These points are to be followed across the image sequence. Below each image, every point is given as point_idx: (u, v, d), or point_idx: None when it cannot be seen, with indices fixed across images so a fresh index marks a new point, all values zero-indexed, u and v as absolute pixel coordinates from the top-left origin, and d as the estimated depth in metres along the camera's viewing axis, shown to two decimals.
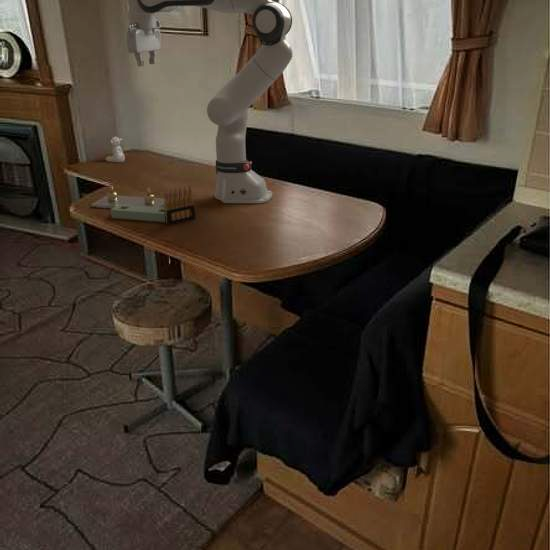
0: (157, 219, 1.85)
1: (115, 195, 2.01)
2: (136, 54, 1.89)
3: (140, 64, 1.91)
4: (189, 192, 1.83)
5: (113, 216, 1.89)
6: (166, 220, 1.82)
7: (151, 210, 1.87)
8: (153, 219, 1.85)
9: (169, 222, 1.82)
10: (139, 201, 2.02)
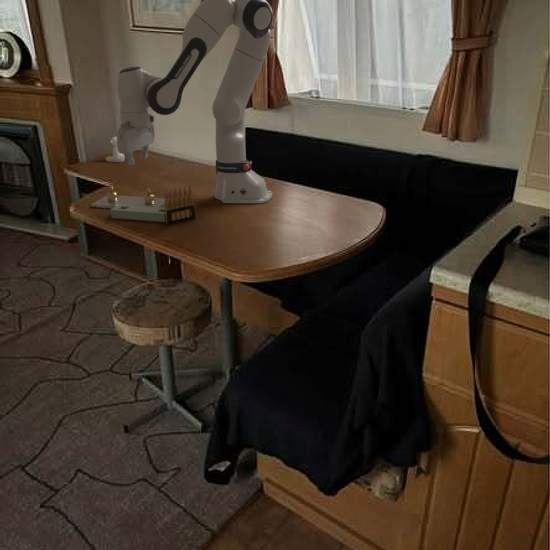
0: (157, 219, 1.85)
1: (115, 195, 2.01)
2: (127, 153, 1.76)
3: (131, 163, 1.78)
4: (189, 192, 1.83)
5: (113, 216, 1.89)
6: (166, 220, 1.82)
7: (151, 210, 1.87)
8: (153, 219, 1.85)
9: (169, 222, 1.82)
10: (139, 201, 2.02)
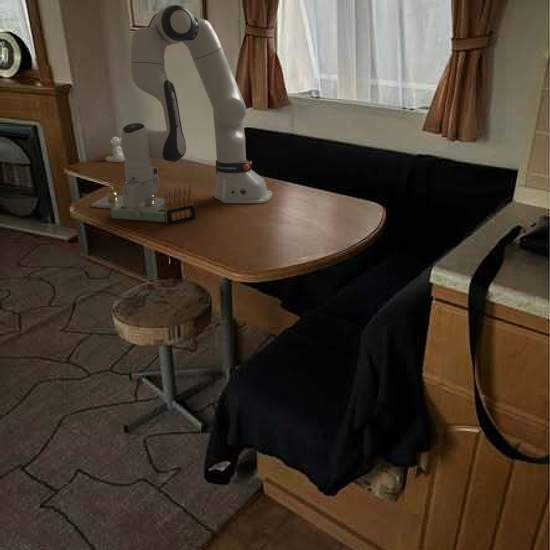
0: (157, 219, 1.85)
1: (115, 195, 2.01)
2: None
3: (138, 215, 1.84)
4: (189, 192, 1.83)
5: (113, 216, 1.89)
6: (166, 220, 1.82)
7: (151, 210, 1.87)
8: (153, 219, 1.85)
9: (169, 222, 1.82)
10: None
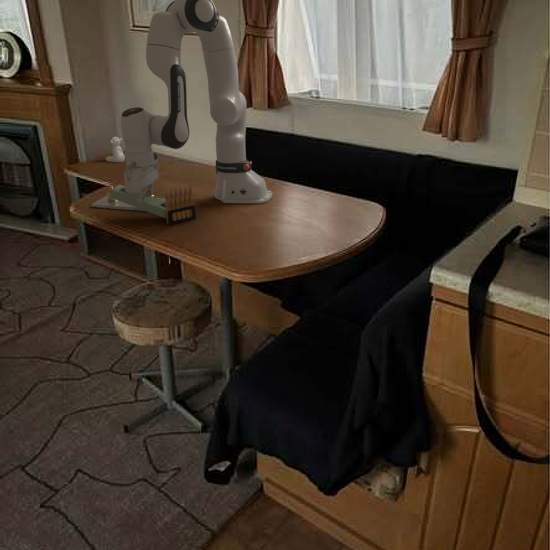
0: (157, 213, 1.84)
1: None
2: None
3: (140, 201, 1.81)
4: (190, 192, 1.83)
5: (112, 196, 1.84)
6: (167, 220, 1.82)
7: (152, 201, 1.85)
8: (153, 212, 1.84)
9: (170, 222, 1.82)
10: None
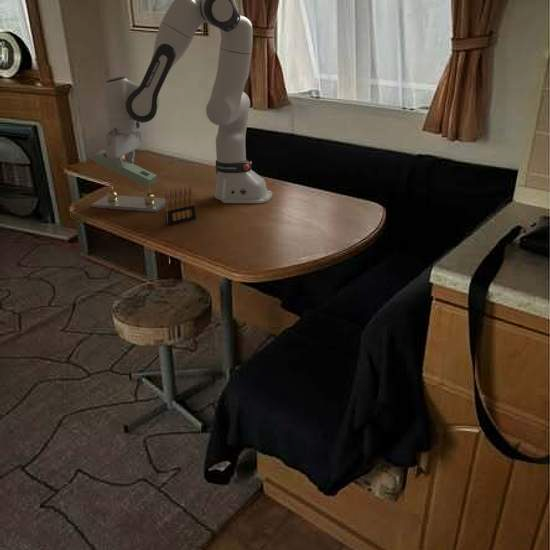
0: (136, 180, 1.94)
1: (115, 195, 2.01)
2: (116, 157, 1.89)
3: (121, 166, 1.91)
4: (189, 192, 1.83)
5: (95, 160, 1.94)
6: (167, 220, 1.82)
7: (133, 168, 1.95)
8: (132, 178, 1.94)
9: (170, 222, 1.82)
10: (139, 201, 2.02)
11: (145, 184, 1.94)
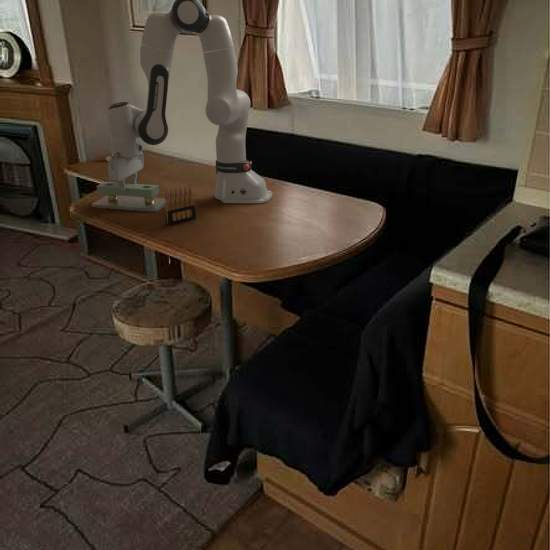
0: (140, 195, 1.96)
1: (115, 195, 2.01)
2: (119, 180, 1.93)
3: (123, 189, 1.95)
4: (189, 192, 1.83)
5: (99, 192, 2.00)
6: (167, 220, 1.82)
7: (134, 186, 1.98)
8: (136, 195, 1.97)
9: (170, 222, 1.82)
10: (139, 201, 2.02)
11: (149, 195, 1.96)
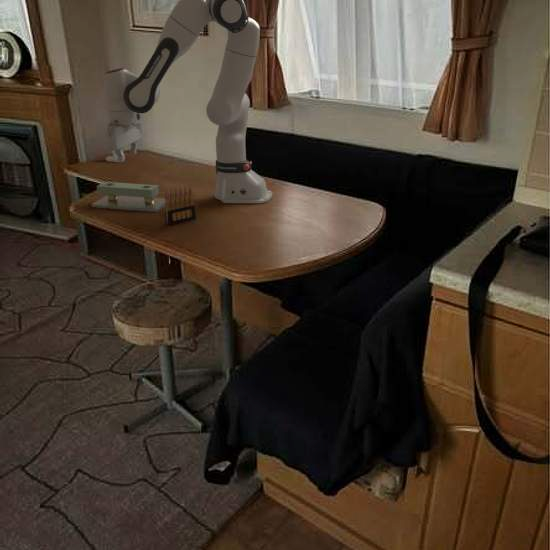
0: (140, 195, 1.96)
1: (115, 195, 2.01)
2: (116, 150, 1.88)
3: (120, 159, 1.90)
4: (189, 192, 1.83)
5: (99, 192, 2.00)
6: (167, 220, 1.82)
7: (134, 186, 1.98)
8: (136, 195, 1.97)
9: (170, 222, 1.82)
10: (139, 201, 2.02)
11: (149, 195, 1.95)
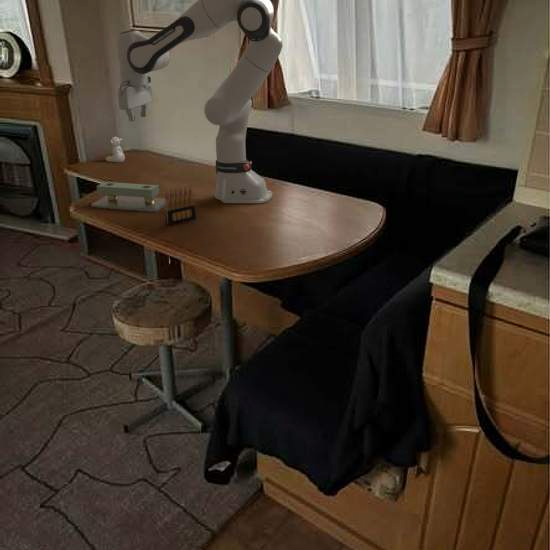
0: (140, 195, 1.96)
1: (115, 195, 2.01)
2: (127, 110, 1.94)
3: (131, 119, 1.96)
4: (190, 192, 1.83)
5: (99, 192, 2.00)
6: (167, 220, 1.82)
7: (134, 186, 1.98)
8: (136, 195, 1.97)
9: (170, 222, 1.82)
10: (139, 201, 2.02)
11: (149, 195, 1.95)
